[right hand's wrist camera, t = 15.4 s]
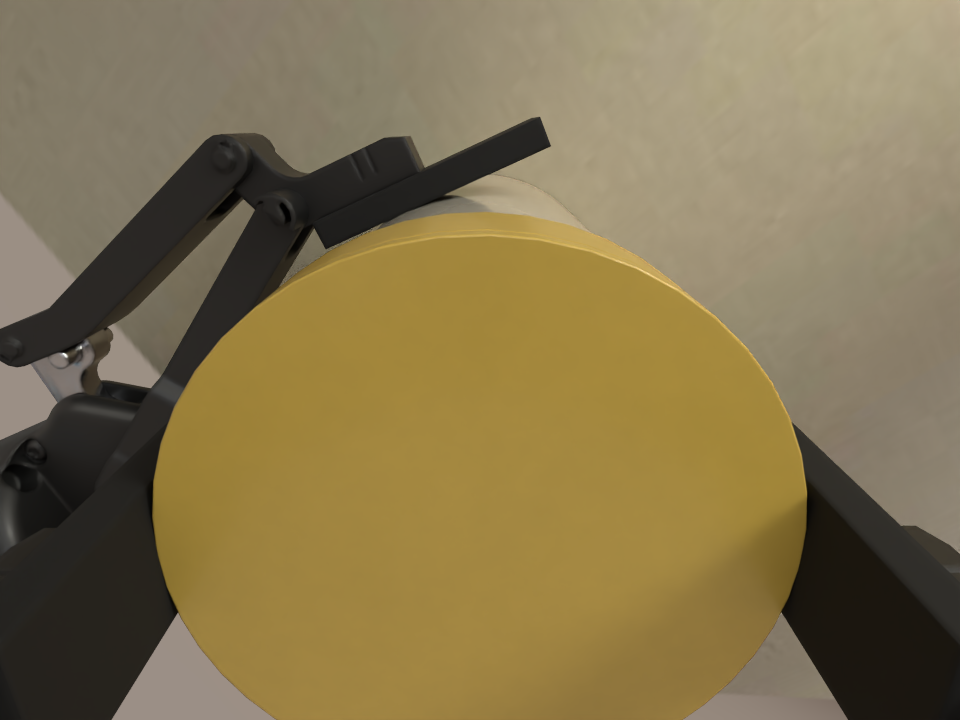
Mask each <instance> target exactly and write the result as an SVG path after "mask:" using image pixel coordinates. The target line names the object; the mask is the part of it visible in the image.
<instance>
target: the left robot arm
mask: <svg viewBox="0 0 960 720" xmlns="http://www.w3.org/2000/svg"><path fill="white" fill-rule="evenodd" d="M550 146H551V145H550V142H549V140H548V137H547V134H546V132H545V129H544V126H543V124H542V121H541V118H540V117H536V118H531V119H529V120H526V121H524V122H522V123H520V124H518V125H516V126H514V127H511V128H509V129H507V130H505V131H503V132H501V133H499V134H497V135H494V136H492V137H490V138H488V139H486V140H484V141H482V142H479V143H477V144H475V145H473V146H471V147H469V148H467V149H464V150H462V151H460V152H458V153H456V154H454V155H452V156H449V157H447V158H445V159H443V160H441V161H439V162H437V163H434V164H432V165H430V166H428V167H426V168H425V167H424V165H423V163H422V161H421V159H420V156H419V154H418V152H417V150H416V147H415V145H414V143H413V141H412V139H411V136H404V137H387V138H383V139H381V140H379V141H377V142H375V143H373V144H371V145H368V146H366V147H365V148H362V149H360V150H358V151H356V152H354V153H352V154H350V155H348V156H346V157H344V158H341V159H339V160H337V161H335V162H333V163H331V164H329V165H327V166H325V167H323V168H321V169H319V170H316V171H314V172H312V173H310V174H306V173H301V172H299V171H297V170H294V169H293V168H292V167H290V166H289V165H288V164H287V163H286V162H285V161H284V160H283V159H282V158H281V157H280V156H279V155H278V154H277V153H276V152H275V148H274V147H273V145H272V144H271V142H270V141H269V140H268V139H267V138H265V137H264V136H263V135H259V134H256V133H241V134H221V135H213V136H212V137H210V138H209V139H207V140H206V141H205V142H204V143H203V144H202V145H201V146H200V147H199V148H198V149H197V150H196V151H195V152H194V154H193V155H192V156H191V157H190V158H189V159H188V160H187V161H186V162H185V163H184V164H183V165H182V166H181V167H180V169H179V170H178V171H177V172H176V173H175V174H174V175H173V176H172V177H171V178H170V179H169V180H168V181H167V182H166V184H165V185H164V186H163V187H162V188H161V189H160V190H159V191H158V192H157V193H156V194H155V195H154V196H153V198H152V199H151V200H150V201H149V202H148V203H147V204H146V205H145V206H144V207H143V208H142V209H141V210H140V211H139V213H138V214H137V215H136V216H135V217H134V218H133V219H132V220H131V221H130V222H129V223H128V224H127V225H126V226H125V228H124V229H123V230H122V231H121V232H120V233H119V234H118V235H117V236H116V237H115V238H114V239H113V240H112V241H111V243H110V244H109V245H108V246H107V247H106V248H105V249H104V250H103V251H102V252H101V253H100V254H99V255H98V256H97V258H96V259H95V260H94V261H93V262H92V263H91V264H90V265H89V266H88V267H87V268H86V269H85V270H84V272H83V273H82V274H81V275H80V276H79V277H78V278H77V279H76V280H75V281H74V282H73V283H72V284H71V286H70V287H69V288H68V289H67V290H66V291H65V292H64V293H63V294H62V295H61V296H60V297H59V298H58V299H57V300H56V302H55V303H54V304H53V305H52V306H51V307H50V308H48V309H46V310H44V311H41V312H39V313H37V314H34V315H32V316H30V317H27V318H25V319H23V320H20V321H18V322H15V323H13V324H11V325H8V326H6V327H4V328H1V329H0V361H1V362H3V363H5V364H7V365H8V366H13V367H22V366H26V365H28V364H31V365H32V366H33V368H34V369H35V370H36V372H37V374H38V375H39V376H40V378H41V379H42V381H43V382H44V383H45V385H46V386H47V388H48V389H49V391H50V392H51V394H52V395H53V396H54V398H55V399H56V401H57V402H58V403H57V404H56V405H55V407H54V408H53V409H52V411H51V413H50V415H49V417H48V419H47V420H45V421H42V422H40V423H38V424H36V425H34V426H31V427H29V428H27V429H25V430H22V431H20V432H18V433H16V434H13V435H11V436H9V437H7V438H4V439H2V440H0V556H2V555H3V554H4V553H5V552H6V551H7V550H8V549H9V548H10V547H12V546H14V545H16V544H17V543H19V542H21V541H23V540H24V539H26V538H28V537H29V536H31V535H33V534H35V533H36V532H38V531H40V530H42V529H43V528H57V527H58V526H59V525H60V524H61V523H62V522H63V521H64V520H65V519H67V518H68V517H69V516H70V515H71V514H72V513H73V512H74V511H75V510H76V509H77V508H78V507H79V506H80V505H81V504H82V503H83V502H84V501H85V500H87V499H88V498H89V497H90V496H91V495H92V494H93V493H94V492H95V491H96V490H97V489H98V488H99V487H100V486H101V485H102V484H103V483H104V482H105V481H106V480H108V479H109V478H110V477H111V476H112V475H113V474H114V473H115V472H116V471H117V470H118V469H119V468H120V467H121V466H122V465H123V464H124V463H125V462H126V461H127V460H129V459H130V458H131V457H132V456H133V455H134V454H135V453H136V452H137V451H138V450H139V449H140V448H141V447H142V446H143V445H144V444H145V443H146V442H147V441H149V440H150V439H151V438H152V437H153V436H154V435H155V434H156V433H157V432H158V431H159V430H160V429H161V428H162V427H163V426H164V425H165V424H166V423H167V422H168V421H169V420H170V417H171V414H172V412H173V409H174V406H175V405H176V403H177V401H178V399H179V398H180V396H181V394H182V392H183V391H184V389H185V387H186V385H187V384H188V382H189V380H190V378H191V377H192V375H193V373H194V371H195V370H196V369H197V368H198V366H199V365H200V364H201V363H202V361H203V360H204V359H205V358H206V356H207V355H208V354H209V353H210V351H211V350H212V349H213V348H214V346H215V345H216V344H217V343H218V342H219V340H220V339H221V338H222V337H223V336H224V335H225V334H226V333H227V332H228V331H229V330H231V329H232V328H233V327H234V326H235V325H236V324H237V323H238V322H239V321H240V320H241V319H243V318H244V317H245V316H246V315H247V314H248V313H249V312H250V311H251V310H252V309H254V308H255V307H256V306H257V305H258V304H260V303H261V302H262V301H263V300H264V299H266V298H267V297H268V296H269V295H271V294H272V293H273V292H274V291H276V290H277V289H278V287H279V286H280V284H281V282H282V281H283V279H284V277H285V276H286V274H287V272H288V271H289V269H290V267H291V266H292V264H293V262H294V261H295V259H296V257H297V256H298V254H299V252H300V251H301V249H302V247H303V246H304V244H305V242H306V241H307V239H308V238H309V236H310V234H311V233H312V231H313V229H314V228H315V230H316V232H317V234H318V236H319V237H320V239H321V241H322V243H323V245H324V247H325V249H327V248H330V247H332V246H334V245H336V244H338V243H341V242H343V241H345V240H347V239H349V238H351V237H354V236H356V235H358V234H360V233H362V232H365V231H367V230H369V229H371V228H373V227H376V226H378V225H380V224H382V223H384V222H386V221H389V220H391V219H393V218H395V217H397V216H400V215H402V214H404V213H406V212H408V211H410V210H413V209H415V208H417V207H419V206H421V205H424V204H426V203H428V202H430V201H432V200H434V199H437V198H439V197H441V196H443V195H445V194H448V193H450V192H452V191H454V190H456V189H458V188H461V187H463V186H465V185H467V184H469V183H472V182H474V181H476V180H478V179H480V178H482V177H485V176H487V175H489V174H491V173H493V172H496V171H498V170H500V169H502V168H504V167H507V166H509V165H511V164H513V163H515V162H517V161H520V160H522V159H524V158H526V157H528V156H531V155H533V154H535V153H537V152H539V151H541V150H544V149H546V148H548V147H550ZM243 199H244V200H245V201H246V202H247V203H249V204H250V205H251V206H252V207H253V208H254V209H255V211H254V213H253V215H252V217H251V219H250V220H249V222H248V224H247V226H246V227H245V229H244V231H243V233H242V235H241V236H240V238H239V240H238V242H237V243H236V245H235V247H234V249H233V250H232V252H231V254H230V256H229V258H228V259H227V261H226V263H225V265H224V266H223V268H222V270H221V272H220V274H219V275H218V277H217V279H216V281H215V282H214V284H213V286H212V288H211V290H210V291H209V293H208V295H207V297H206V298H205V300H204V302H203V304H202V306H201V307H200V309H199V311H198V313H197V314H196V316H195V318H194V320H193V321H192V323H191V325H190V327H189V329H188V330H187V332H186V334H185V336H184V337H183V339H182V341H181V343H180V345H179V346H178V348H177V350H176V352H175V353H174V355H173V357H172V359H171V361H170V362H169V364H168V366H167V368H166V369H165V371H164V373H163V374H162V376H161V377H160V378H159V380H158V381H157V382H156V383H155V384H154V385H153V387H152V388H145V387H140V386H135V385H130V384H125V383H119V382H114V381H107V380H102V381H101V380H100V378H99V376H98V373H97V366H98V363H99V362H100V360H101V359H103V358H104V357H105V356H106V355H107V354H108V353H109V351H110V346H111V345H110V342H111V341H112V340H113V333H112V331H111V330H110V329H109V328H107V327H108V326H110V325H112V324H114V323H116V322H117V321H119V320H121V319H122V318H124V317H125V316H127V315H128V314H129V313H131V312H132V311H133V310H134V309H135V308H136V307H137V306H138V305H139V304H140V303H141V302H142V301H143V300H144V299H145V298H146V297H147V296H148V295H149V294H150V293H151V292H152V291H153V290H154V289H155V288H156V287H157V286H158V285H159V284H160V283H161V282H162V281H163V280H164V279H165V278H166V277H167V276H168V275H169V274H170V273H171V272H172V271H173V270H174V269H175V268H176V267H177V266H178V265H179V264H180V263H181V262H182V261H183V260H184V259H185V258H186V257H187V256H188V255H189V254H190V253H191V252H192V251H193V250H194V249H195V248H196V247H197V246H198V245H199V244H200V242H201V241H202V240H203V239H204V238H205V237H206V236H207V235H208V234H209V233H210V232H211V231H212V230H213V229H214V228H215V227H216V226H217V225H218V224H219V223H220V222H221V221H222V220H223V219H224V218H225V217H226V216H227V215H228V214H229V213H230V212H231V211H232V210H233V209H234V208H235V207H236V206H237V205H238V204H239V203H240V202H241V201H242V200H243Z"/></svg>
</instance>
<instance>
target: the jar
mask: <svg viewBox="0 0 960 720" xmlns="http://www.w3.org/2000/svg"><path fill="white" fill-rule="evenodd" d="M472 212H494V213H505V214H516V215H528V216H532V217H537V218H541V219H546V220H550V221H554V222H559V223H563V224H568V225H571V226H573V227H576V228H579V229H581V230H584V231H587V232H589V233H591V232H590V231H589V230H588V229H587V228H586V227H585V226H584V225H583V224H582V223H581V222H580V221H579V220H578V219H577V218H576V217H575V216H574V215H573V214H572V213H571V212H570V211H569V210H567V209H566V208H565V207H564V206H563V205H562V204H561V203H560V202H559V201H557V200H556V199H554V198H553V197H552V196H550V195H549V194H548V193H546V192H544V191H542V190H540V189H538V188H537V187H535V186H533V185H531V184H528V183H525V182H522V181H520V180H517V179H513V178H509V177H504V176H499V175H487V176H485V177H482V178H480V179H478V180H476V181H474V182H472V183H469V184H467V185H465V186H463V187H461V188H458V189H456V190H454V191H452V192H450V193H448V194H445V195H443V196H441V197H439V198H437V199H434V200H432V201H430V202H428V203H426V204H424V205H421V206H419V207H417V208H415V209H413V210H410V211H408V212H406V213H404V214H402V215H400V216H397V217H395V218H393V219H391V220H389V221H386V222H384V223H382V224H380V225H378V226H376V227H374V228H373V229H372V230H371V231H370V232H372V231H375V230H378V229H381V228H384V227H388V226H391V225H394V224H397V223H400V222H403V221H408V220H413V219H419V218H424V217H430V216H435V215H441V214H450V213H472Z"/></svg>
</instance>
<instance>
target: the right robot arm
mask: <svg viewBox="0 0 960 720" xmlns="http://www.w3.org/2000/svg"><path fill="white" fill-rule="evenodd" d="M168 423H169V421H168V422H167V423H166V424H165V425H164V426H163V427H162V428H161V429H160V430H159V431H158V432H157V433H156V434H155V435H154V436H153V437H152V438H151V439H150V440H149V441H147V442H146V443H145V444H144V445H143V446H142V447H141V448H140V449H139V450H138V451H137V452H136V453H135V454H134V455H133V456H132V457H131V458H130V459H129V460H127V461H126V462H125V463H124V464H123V465H122V466H121V467H120V468H119V469H118V470H117V471H116V472H115V473H114V474H113V475H112V476H111V477H110V478H109V479H108V480H106V481H105V482H104V483H103V484H102V485H101V486H100V487H99V488H98V489H97V490H96V491H95V492H94V493H93V494H92V495H91V496H90V497H89V498H88V499H87V500H85V501H84V502H83V503H82V504H81V505H80V506H79V507H78V508H77V509H76V510H75V511H74V512H73V513H72V514H71V515H70V516H69V517H68V518H67V519H65V520H64V521H63V522H62V523H61V524H60V525H59V526H58V527H57V528H43V529H42V530H40V531H38V532H36V533H35V534H33V535H31V536H29V537H28V538H26V539H24V540H23V541H21V542H19V543H17V544H16V545H14V546H12V547H10V548H9V549H8V550H7V551H6V552H5V553H4V554H3V555H2V556H0V720H112V718H113V716H114V715H115V713H116V712H117V710H118V708H119V707H120V705H121V703H122V702H123V700H124V699H125V697H126V695H127V694H128V692H129V690H130V689H131V687H132V686H133V684H134V682H135V681H136V679H137V678H138V676H139V674H140V673H141V671H142V670H143V668H144V666H145V665H146V663H147V661H148V660H149V658H150V657H151V655H152V653H153V652H154V650H155V648H156V647H157V645H158V644H159V642H160V641H161V639H162V637H163V636H164V634H165V632H166V631H167V629H168V628H169V626H170V624H171V623H172V621H173V620H174V618H175V616H176V615H177V613H178V611H177V608H176V606H175V604H174V602H173V600H172V597H171V595H170V593H169V591H168V589H167V586H166V583H165V579H164V576H163V573H162V569H161V565H160V561H159V557H158V553H157V548H156V543H155V535H154V527H153V519H152V511H153V481H154V475H155V470H156V465H157V460H158V455H159V450H160V445H161V441H162V439H163V436H164V433H165V431H166V428H167V425H168ZM792 426H793V429H794V432H795V435H796V438H797V442H798V445H799V448H800V451H801V454H802V460H803V467H804V475H805V482H806V489H807V523H806V534H805V539H804V545H803V550H802V555H801V559H800V564H799V568H798V572H797V574H796V577H795V580H794V583H793V586H792V589H791V592H790V595H789V598H788V600H787V602H786V603H785V605H784V607H783V609H782V611H781V612H782V614H783V615H784V617H785V619H786V620H787V622H788V623H789V625H790V627H791V628H792V630H793V631H794V633H795V635H796V636H797V638H798V640H799V641H800V643H801V644H802V646H803V648H804V649H805V651H806V652H807V654H808V656H809V657H810V659H811V660H812V662H813V664H814V665H815V667H816V669H817V670H818V672H819V673H820V675H821V677H822V678H823V680H824V681H825V683H826V685H827V686H828V688H829V690H830V691H831V693H832V694H833V696H834V698H835V699H836V701H837V702H838V704H839V706H840V707H841V709H842V710H843V712H844V714H845V715H846V717H847V719H848V720H960V554H959V553H958V552H957V551H956V550H954V549H953V548H952V547H951V546H950V545H948V544H947V543H945V542H943V541H941V540H940V539H938V538H936V537H934V536H933V535H931V534H929V533H927V532H926V531H924V530H922V529H920V528H919V527H917V526H900V525H899V524H898V523H897V522H896V521H895V520H894V519H893V518H892V517H891V516H890V515H889V514H888V513H887V512H886V511H885V510H884V509H883V508H881V507H880V506H879V505H878V504H877V503H876V502H875V501H874V500H873V499H872V498H871V497H870V496H869V495H868V494H867V493H866V492H865V491H864V490H863V489H862V488H860V487H859V486H858V485H857V484H856V483H855V482H854V481H853V480H852V479H851V478H850V477H849V476H848V475H847V474H846V473H845V472H844V471H843V470H842V469H840V468H839V467H838V466H837V465H836V464H835V463H834V462H833V461H832V460H831V459H830V458H829V457H828V456H827V455H826V454H825V453H824V452H823V451H822V450H821V449H819V448H818V447H817V446H816V445H815V444H814V443H813V442H812V441H811V440H810V439H809V438H808V437H807V436H806V435H805V434H804V433H803V432H802V431H801V430H800V429H798V428H797V427H796V426H795V425H794V424H793V423H792Z"/></svg>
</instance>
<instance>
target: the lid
mask: <svg viewBox="0 0 960 720" xmlns="http://www.w3.org/2000/svg"><path fill="white" fill-rule="evenodd" d="M152 519H153V527H154V535H155V543H156V548H157V553H158V557H159V561H160V565H161V569H162V573H163V576H164V579H165V583H166V586H167V589H168V591H169V593H170V595H171V597H172V600H173V602H174V604H175V606H176V608H177V611H178V613H179V615H180V617H181V619H182V621H183V622H184V624H185V625H186V627H187V628H188V630H189V632H190V633H191V635H192V636H193V638H194V640H195V641H196V643H197V644H198V646H199V647H200V649H201V650H202V651H203V652H204V653H205V655H206V656H207V657H208V658H209V659H210V661H211V662H212V663H213V664H214V665H215V667H216V668H217V669H218V670H219V671H220V673H221V674H222V675H223V676H224V677H225V678H226V679H227V680H228V681H230V682H231V683H232V684H233V685H234V686H235V687H236V688H237V689H238V690H239V691H240V692H241V693H242V694H243V695H244V696H245V697H246V698H248V699H249V700H251V701H252V702H253V703H254V704H256V705H257V706H259V707H260V708H261V709H262V710H264V711H265V712H266V713H268V714H269V715H270V716H272V717H273V718H275V719H276V720H683V719H684V718H686V717H687V716H689V715H690V714H692V713H693V712H694V711H696V710H697V709H699V708H700V707H701V706H703V705H704V704H706V703H707V702H708V701H709V700H710V699H711V698H712V697H714V696H715V695H716V694H717V693H718V692H719V691H720V690H722V689H723V688H724V687H725V686H726V685H727V684H728V683H730V682H731V680H732V679H733V678H734V677H735V676H736V675H737V674H738V673H739V672H740V670H741V669H742V668H743V667H744V666H745V665H746V664H747V663H748V662H749V660H750V659H751V658H752V657H753V656H754V655H755V653H756V652H757V650H758V649H759V647H760V646H761V644H762V643H763V642H764V640H765V639H766V637H767V636H768V634H769V633H770V632H771V630H772V629H773V627H774V625H775V623H776V621H777V619H778V617H779V615H780V613H781V611H782V609H783V607H784V605H785V603H786V602H787V600H788V598H789V595H790V592H791V589H792V586H793V583H794V580H795V577H796V574H797V572H798V568H799V564H800V559H801V555H802V550H803V545H804V539H805V534H806V523H807V489H806V482H805V475H804V467H803V460H802V454H801V451H800V448H799V445H798V442H797V438H796V435H795V432H794V429H793V426H792V422H791V419H790V417H789V415H788V413H787V411H786V409H785V407H784V405H783V403H782V401H781V399H780V397H779V395H778V393H777V391H776V389H775V387H774V385H773V383H772V382H771V380H770V379H769V377H768V376H767V375H766V373H765V372H764V370H763V369H762V368H761V366H760V365H759V364H758V362H757V361H756V359H755V358H754V357H753V355H752V354H751V353H750V351H749V350H748V348H747V347H746V346H745V345H744V344H743V343H742V342H741V341H740V340H739V339H738V338H737V337H736V336H735V335H734V334H733V333H732V332H731V331H730V330H729V329H728V328H727V327H726V326H725V325H724V324H723V323H722V322H721V321H720V320H719V319H718V318H717V317H716V316H715V315H713V314H712V313H711V312H710V311H708V310H707V309H706V308H705V307H703V306H702V305H701V304H700V303H699V302H697V301H696V300H695V299H694V298H692V297H691V296H690V295H689V294H687V293H686V292H685V291H684V290H683V289H681V288H680V287H679V286H678V285H676V284H675V283H674V282H673V281H671V280H670V279H669V278H667V277H666V276H665V275H663V274H662V273H661V272H659V271H658V270H657V269H655V268H654V267H653V266H651V265H650V264H649V263H647V262H646V261H645V260H643V259H642V258H640V257H639V256H637V255H635V254H633V253H631V252H629V251H628V250H626V249H624V248H622V247H620V246H618V245H617V244H615V243H613V242H611V241H609V240H607V239H605V238H603V237H600V236H597V235H595V234H592V233H589V232H587V231H584V230H581V229H579V228H576V227H573V226H571V225H568V224H563V223H559V222H554V221H550V220H546V219H541V218H537V217H532V216H528V215H516V214H505V213H494V212H472V213H450V214H441V215H435V216H430V217H424V218H419V219H413V220H408V221H403V222H400V223H397V224H394V225H391V226H388V227H384V228H381V229H378V230H375V231H372V232H369V233H366V234H364V235H362V236H360V237H358V238H356V239H353V240H351V241H349V242H347V243H345V244H343V245H341V246H339V247H337V248H335V249H333V250H331V251H329V252H328V253H326V254H325V255H323V256H322V257H320V258H319V259H317V260H316V261H314V262H313V263H311V264H310V265H308V266H307V267H305V268H304V269H302V270H301V271H299V272H298V273H297V274H295V275H294V276H293V277H292V278H290V279H289V280H288V281H287V282H285V283H284V284H283V285H282V286H281V287H279V288H278V289H277V290H276V291H274V292H273V293H272V294H271V295H269V296H268V297H267V298H266V299H264V300H263V301H262V302H261V303H260V304H258V305H257V306H256V307H255V308H254V309H252V310H251V311H250V312H249V313H248V314H247V315H246V316H245V317H244V318H243V319H241V320H240V321H239V322H238V323H237V324H236V325H235V326H234V327H233V328H232V329H231V330H229V331H228V332H227V333H226V334H225V335H224V336H223V337H222V338H221V339H220V340H219V342H218V343H217V344H216V345H215V346H214V348H213V349H212V350H211V351H210V353H209V354H208V355H207V356H206V358H205V359H204V360H203V361H202V363H201V364H200V365H199V366H198V368H197V369H196V370H195V371H194V373H193V375H192V377H191V378H190V380H189V382H188V384H187V385H186V387H185V389H184V391H183V392H182V394H181V396H180V398H179V399H178V401H177V403H176V405H175V406H174V409H173V412H172V414H171V417H170V420H169V423H168V425H167V428H166V431H165V433H164V436H163V439H162V441H161V445H160V450H159V455H158V460H157V465H156V470H155V475H154V481H153V511H152Z"/></svg>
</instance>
